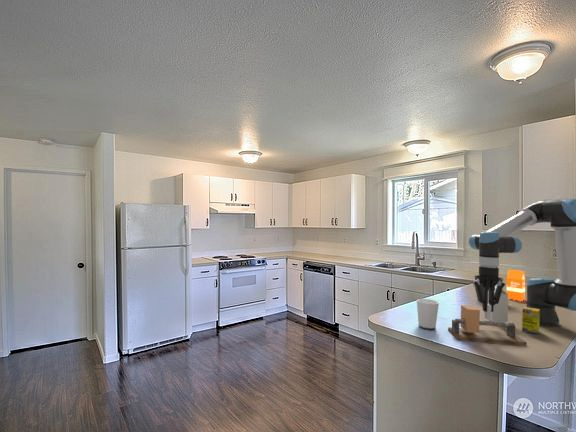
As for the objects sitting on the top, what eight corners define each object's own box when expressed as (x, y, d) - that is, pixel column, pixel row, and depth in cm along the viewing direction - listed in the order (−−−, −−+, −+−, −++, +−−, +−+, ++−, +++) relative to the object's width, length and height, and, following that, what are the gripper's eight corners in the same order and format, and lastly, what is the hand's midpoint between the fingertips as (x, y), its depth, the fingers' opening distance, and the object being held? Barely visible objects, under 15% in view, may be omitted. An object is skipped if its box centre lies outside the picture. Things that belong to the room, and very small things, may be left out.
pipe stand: (510, 335, 142) (510, 318, 142) (526, 345, 130) (526, 327, 130) (448, 330, 146) (448, 314, 146) (458, 340, 134) (458, 322, 134)
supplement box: (521, 331, 148) (522, 308, 148) (524, 328, 152) (524, 306, 152) (537, 334, 143) (538, 311, 144) (539, 331, 148) (539, 309, 148)
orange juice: (509, 297, 217) (510, 269, 218) (525, 300, 211) (525, 270, 211) (506, 298, 212) (506, 269, 213) (521, 301, 206) (522, 271, 206)
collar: (472, 327, 142) (472, 305, 142) (479, 333, 135) (479, 310, 135) (460, 326, 143) (461, 305, 143) (467, 332, 136) (467, 309, 136)
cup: (425, 331, 143) (426, 304, 143) (411, 324, 152) (412, 299, 153) (443, 330, 146) (443, 303, 146) (428, 323, 155) (428, 298, 155)
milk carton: (502, 319, 165) (503, 284, 165) (507, 323, 158) (508, 286, 159) (487, 318, 167) (488, 283, 167) (492, 322, 160) (492, 285, 161)
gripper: (500, 265, 141) (499, 317, 141) (469, 264, 143) (468, 315, 143) (509, 268, 133) (508, 322, 133) (476, 266, 135) (475, 320, 135)
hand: (487, 318), depth 138 cm, fingers closed
